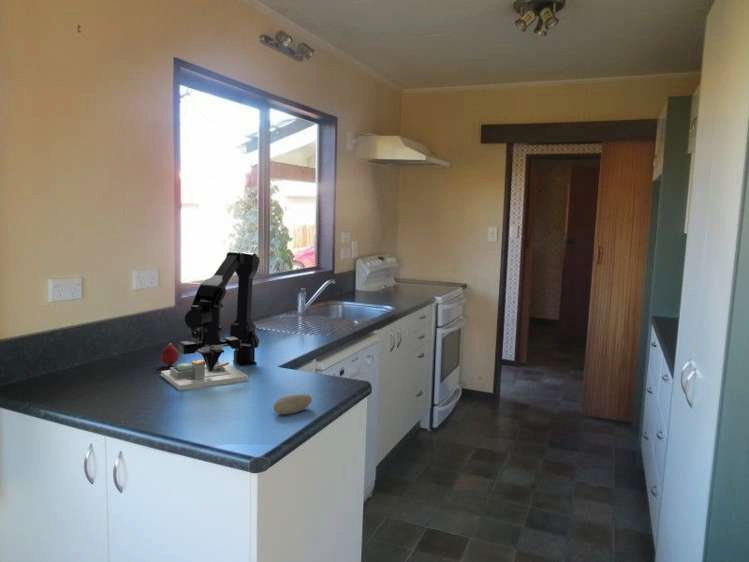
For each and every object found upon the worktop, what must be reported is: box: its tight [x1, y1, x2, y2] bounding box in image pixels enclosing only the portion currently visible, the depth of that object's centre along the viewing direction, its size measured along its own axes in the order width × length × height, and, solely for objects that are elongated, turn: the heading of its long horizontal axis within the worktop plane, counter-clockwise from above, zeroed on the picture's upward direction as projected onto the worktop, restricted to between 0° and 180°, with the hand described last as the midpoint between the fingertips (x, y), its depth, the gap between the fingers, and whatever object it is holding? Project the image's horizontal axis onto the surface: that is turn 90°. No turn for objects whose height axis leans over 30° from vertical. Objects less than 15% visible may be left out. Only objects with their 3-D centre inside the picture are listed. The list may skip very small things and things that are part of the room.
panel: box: [160, 364, 249, 391], centre depth 184 cm, size 22×18×4 cm
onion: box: [160, 342, 180, 367], centre depth 196 cm, size 6×6×8 cm
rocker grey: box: [213, 359, 230, 369], centre depth 189 cm, size 5×4×1 cm
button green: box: [176, 363, 192, 372], centre depth 181 cm, size 4×4×2 cm
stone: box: [273, 393, 313, 415], centre depth 156 cm, size 6×6×12 cm
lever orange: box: [191, 359, 206, 379], centre depth 178 cm, size 3×3×5 cm
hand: (209, 371), depth 181 cm, fingers closed
